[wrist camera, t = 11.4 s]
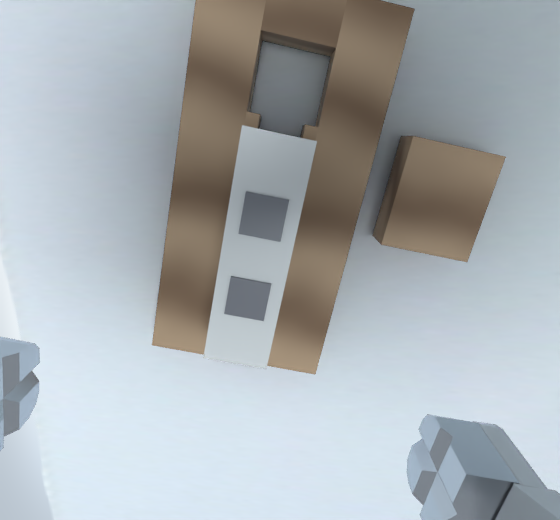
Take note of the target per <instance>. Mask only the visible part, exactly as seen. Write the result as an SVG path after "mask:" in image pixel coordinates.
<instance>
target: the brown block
mask: <svg viewBox="0 0 560 520" xmlns="http://www.w3.org/2000/svg"><path fill="white" fill-rule="evenodd" d="M505 158H506V157H504V156H500V155H496V154H491V153H487V152H482V151H478V150H473V149H469V148H464V147H460V146H456V145H451V144H447V143H442V142H438V141H433V140H429V139H424V138H420V137H416V136H401V138H400V141H399V145H398V148H397V152H396V155H395V159H394V162H393V166H392V169H391V173H390V176H389V180H388V183H387V187H386V190H385V194H384V197H383V201H382V204H381V208H380V211H379V215H378V218H377V222H376V225H375V229H374V232H373V237H374V238H375V239H376V240H377V241H378V242H379V243H380V244H381V245H386V246H391V247H395V248H400V249H405V250H410V251H415V252H420V253H425V254H430V255H435V256H440V257H444V258H449V259H454V260H459V261H464V262H467V261H468V258H469V256H470V253H471V250H472V247H473V245H474V242H475V239H476V237H477V234H478V231H479V228H480V226H481V223H482V220H483V218H484V215H485V212H486V209H487V207H488V204H489V201H490V198H491V196H492V193H493V190H494V188H495V185H496V182H497V179H498V177H499V174H500V171H501V169H502V166H503V163H504V160H505Z"/></svg>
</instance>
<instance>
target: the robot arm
mask: <svg viewBox="0 0 560 520" xmlns="http://www.w3.org/2000/svg"><path fill="white" fill-rule="evenodd" d="M39 363H40V353H39V347H38V346H37V345H36V344H35V343H30V342H25V341H20V340H15V339H10V338H5V337H0V451H1V450H2V449H3V448H4V445H3V444H4V436H6V435H8V434H10V433H13V432H14V431H17V430H19V429H20V428H21V427H22V426H23V424H24V423H25V422H26V421H27V420H28V418H29V417H30V415H31V413H32V411H33V409H34V407H35V405H36V402H37V398H38V394H39V380H38V379H37V377H36V376H35V374H34V373H33V372H32V370H33V369H34V368H35V367H36V366H37V365H38V364H39ZM419 432H420V434H421V437H422V439H421V440H420V441H418V442H417V443H415V444H414V445H412V447H411V450H410V453H409V456H408V460H407V477H408V483H409V486H410V489H411V492H412V494H413V495H414V496H415V497H416V498H417V499H418V500H419V501H420V502H421V503H422V504H423V508H422V510H421V513H420V516H421V519H422V520H560V494H559V493H558V492H557V491H555V490H550V489H547V487H546V486H545V485H544V483H543V482H542V481H541V479H540V478H539V477H538V475H537V474H536V473H535V471H534V470H533V469H532V467H531V466H530V465H529V463H528V462H527V461H526V460H525V458H524V457H523V456H522V454H521V453H520V452H519V450H518V449H517V448H516V446H515V445H514V444H513V442H512V441H511V440H510V438H509V437H508V436H507V434H506V433H505V432H504V430H503V429H502V428H500V427H499V426H497V425H495V424H488V423H481V422H474V421H473V422H470V421H464V420H458V419H452V418H446V417H440V416H434V415H428V414H427V415H426V417H425V418H424V419H423V420H422V422H421V425H420V427H419Z"/></svg>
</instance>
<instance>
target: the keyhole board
mask: <svg viewBox="0 0 560 520" xmlns="http://www.w3.org/2000/svg"><path fill="white" fill-rule="evenodd" d="M413 13H414V9H413V8H409V7H405V6H401V5H397V4H393V3H389V2H385V1H381V0H196V2H195V10H194V18H193V26H192V34H191V41H190V49H189V57H188V65H187V73H186V81H185V89H184V97H183V105H182V112H181V120H180V128H179V136H178V144H177V152H176V160H175V168H174V176H173V184H172V191H171V199H170V207H169V215H168V223H167V231H166V239H165V247H164V255H163V263H162V270H161V278H160V286H159V294H158V302H157V310H156V318H155V326H154V334H153V342H152V345H154V346H159V347H165V348H170V349H176V350H182V351H187V352H193V353H198V354H204V351H205V345H206V339H207V333H208V327H209V321H210V315H211V309H212V303H213V297H214V291H215V285H216V279H217V273H218V267H219V261H220V254H221V248H222V242H223V236H224V230H225V224H226V218H227V212H228V206H229V200H230V194H231V188H232V182H233V176H234V170H235V164H236V158H237V152H238V146H239V140H240V134H241V128H242V125H244V126H248V127H253V128H258V129H259V127H260V122H261V115H260V114H257V113H252V112H250V108H251V103H252V97H253V91H254V85H255V80H256V74H257V68H258V63H259V57H260V51H261V45H262V41H267V42H271V43H275V44H279V45H284V46H288V47H292V48H296V49H300V50H305V51H309V52H313V53H317V54H322V55H326V56H330V61H329V66H328V70H327V75H326V79H325V84H324V88H323V93H322V97H321V102H320V106H319V111H318V115H317V120H316V124H315V126H310V125H306V124H305V125H303V127H302V132H301V137H300V138H304V139H309V140H313V141H317V144H316V148H315V153H314V157H313V162H312V166H311V171H310V175H309V180H308V184H307V189H306V193H305V198H304V202H303V207H302V211H301V216H300V220H299V225H298V229H297V234H296V238H295V243H294V247H293V252H292V256H291V261H290V265H289V270H288V274H287V279H286V283H285V288H284V292H283V297H282V301H281V306H280V310H279V315H278V319H277V324H276V328H275V333H274V337H273V342H272V346H271V351H270V355H269V360H268V364H267V366H271V367H277V368H283V369H288V370H294V371H299V372H305V373H311V374H316V370H317V366H318V362H319V359H320V355H321V351H322V348H323V344H324V340H325V337H326V333H327V329H328V326H329V322H330V318H331V315H332V311H333V307H334V304H335V300H336V296H337V293H338V289H339V285H340V281H341V278H342V274H343V270H344V267H345V263H346V259H347V256H348V252H349V248H350V245H351V241H352V237H353V234H354V230H355V226H356V223H357V219H358V215H359V212H360V208H361V204H362V201H363V197H364V193H365V189H366V186H367V182H368V178H369V175H370V171H371V167H372V164H373V160H374V156H375V153H376V149H377V145H378V142H379V138H380V134H381V131H382V127H383V123H384V120H385V116H386V112H387V108H388V105H389V101H390V97H391V94H392V90H393V86H394V83H395V79H396V75H397V72H398V68H399V64H400V61H401V57H402V53H403V50H404V46H405V42H406V39H407V35H408V31H409V28H410V24H411V20H412V16H413Z"/></svg>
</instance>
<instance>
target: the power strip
mask: <svg viewBox="0 0 560 520" xmlns="http://www.w3.org/2000/svg"><path fill="white" fill-rule="evenodd" d="M316 144H317V141H313V140H309V139H304V138H299V137H295V136H290V135H285V134H281V133H276V132H272V131H267V130H262V129H258V128H253V127H248V126H244V125H242V128H241V134H240V140H239V146H238V152H237V158H236V164H235V170H234V176H233V182H232V188H231V194H230V200H229V206H228V212H227V218H226V224H225V230H224V236H223V242H222V248H221V254H220V261H219V267H218V273H217V279H216V285H215V291H214V297H213V303H212V309H211V315H210V321H209V327H208V333H207V339H206V345H205V351H204V357H203V358H205V359H211V360H217V361H222V362H228V363H234V364H240V365H245V366H251V367H257V368H263V369H267V364H268V360H269V355H270V351H271V346H272V342H273V337H274V333H275V328H276V324H277V319H278V315H279V310H280V306H281V301H282V297H283V292H284V288H285V283H286V279H287V274H288V270H289V265H290V261H291V256H292V252H293V247H294V243H295V238H296V234H297V229H298V225H299V220H300V216H301V211H302V207H303V202H304V198H305V193H306V189H307V184H308V180H309V175H310V171H311V166H312V162H313V157H314V153H315V148H316Z"/></svg>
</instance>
